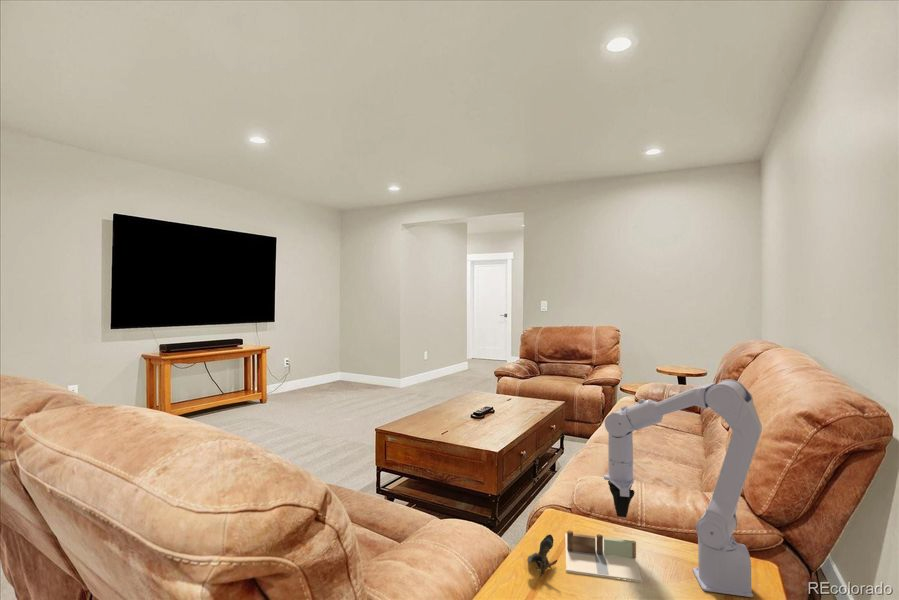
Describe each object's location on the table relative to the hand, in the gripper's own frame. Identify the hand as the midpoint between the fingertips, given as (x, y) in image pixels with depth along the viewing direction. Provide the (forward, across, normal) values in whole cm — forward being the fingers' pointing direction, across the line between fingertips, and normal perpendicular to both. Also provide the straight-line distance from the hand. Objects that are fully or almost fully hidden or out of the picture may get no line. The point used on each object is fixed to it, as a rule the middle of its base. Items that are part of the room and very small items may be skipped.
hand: (620, 514), depth 111 cm
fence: (+8, +5, -9) cm, 13 cm away
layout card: (+8, +5, -6) cm, 11 cm away
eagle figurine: (+9, +13, -19) cm, 25 cm away
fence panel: (+8, +5, -1) cm, 9 cm away
